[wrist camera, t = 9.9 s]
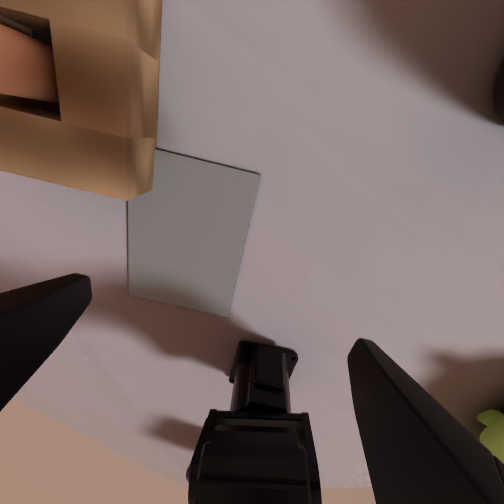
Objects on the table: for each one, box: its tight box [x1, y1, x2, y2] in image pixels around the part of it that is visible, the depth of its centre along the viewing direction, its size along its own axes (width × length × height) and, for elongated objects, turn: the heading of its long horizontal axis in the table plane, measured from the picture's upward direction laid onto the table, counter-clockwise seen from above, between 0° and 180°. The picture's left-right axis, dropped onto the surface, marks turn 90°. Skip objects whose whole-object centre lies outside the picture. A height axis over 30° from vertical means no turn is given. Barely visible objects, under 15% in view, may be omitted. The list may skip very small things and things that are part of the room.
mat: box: [128, 149, 261, 317], centre depth 21 cm, size 14×10×1 cm
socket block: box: [0, 0, 162, 201], centre depth 14 cm, size 12×12×4 cm
